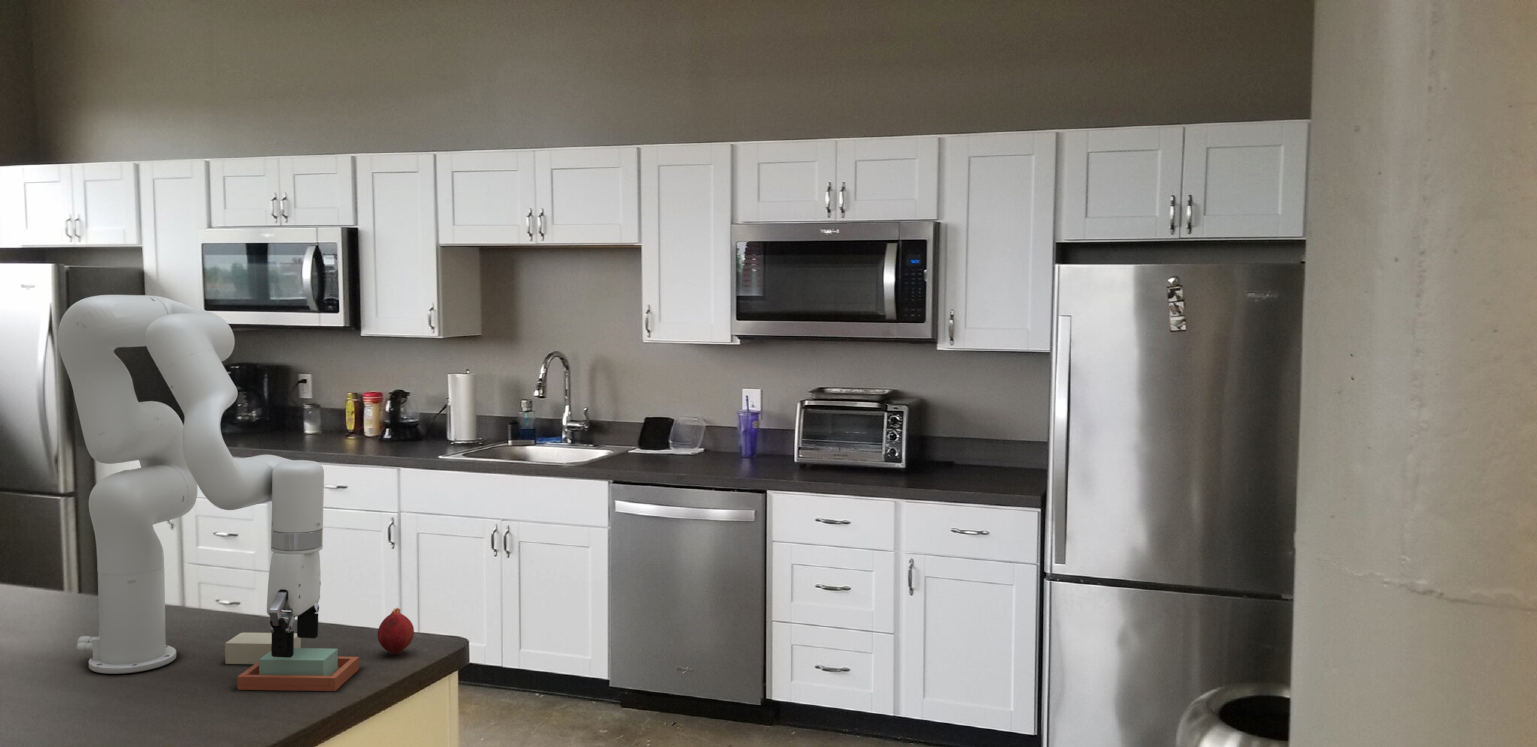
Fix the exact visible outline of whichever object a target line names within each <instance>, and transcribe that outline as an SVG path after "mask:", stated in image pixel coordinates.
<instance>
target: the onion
mask: <svg viewBox="0 0 1537 747" xmlns="http://www.w3.org/2000/svg"><path fill="white" fill-rule="evenodd" d="M376 634H377V636H376V637H377V641H378V642H379V644H380V646H381V648H383V649H384V650H385V651H387V652H388V653H390V654H392V655H394V656H397V655H399V654H401V653H402V652H403V651H404V650H406V648H408V647H409V645H410V644H411V643H412V642H413V639H414V635H415V627H414V625H413V623H412V621H411V620H410V619H409V618H408V617H407V616H406V615H404V614H403V613H401V608H399V607H395V608H393V610H392V611H391V612H390V614H388V615H387V616H385V617H384V618H383V619H382V621H381V623H380V624H379V626H378V629H377V633H376Z"/></svg>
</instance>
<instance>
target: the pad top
mask: <svg viewBox="0 0 1537 747" xmlns="http://www.w3.org/2000/svg"><path fill="white" fill-rule="evenodd" d="M271 645H272V632H240V633H238V634H236V635H235V636H234V637H232V638H231V639H229V640H228V641H225V643H224V664H225V665H254V664H256V663H257V662H258V661H259V659H260V658H262V657H263V656H265V655H266V654H267V653H269V652H270V651H271ZM294 648H302V638H299V637H297V632H294Z"/></svg>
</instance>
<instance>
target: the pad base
mask: <svg viewBox="0 0 1537 747" xmlns="http://www.w3.org/2000/svg"><path fill="white" fill-rule="evenodd" d="M338 652H339V649H338V648H324V647H323V648H321V647H319V648H317V647H316V648H315V647H301V648H294V655H293V656H292V657H291V658H287V657H273V656H272V655H271V651H270V652H269V653H267V654H266V655H265V656H263V657H262V658H260V659H259V675H307V676H331V675H333V674H334V673H335V672H336V671H337V670H338V656H339V653H338Z"/></svg>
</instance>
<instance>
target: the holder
mask: <svg viewBox="0 0 1537 747" xmlns="http://www.w3.org/2000/svg"><path fill="white" fill-rule="evenodd" d="M359 670H360V657H359V656H339V655H338V670H337V671H336V672H335V673H334V674H333V675H331V676H307V675H259V661H258V662H257V663H256V664H252V665H251V666H250V667H248V668H247V669H246V670H244V671H243V672H242V673H240V674H239V675H238V676H237V677H236V678H237V681H236V682H237V686H236V687H237V690H238V691H289V692H290V691H293V692H294V691H299V692H302V691H303V692H336V691H337V690H339V688H340V687H342V685H344V684H345V683H346V682H347V681H348V680H349V679H350V678H351V677H352V676H353V675H355V674H356V673H357V672H358V671H359Z"/></svg>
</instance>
